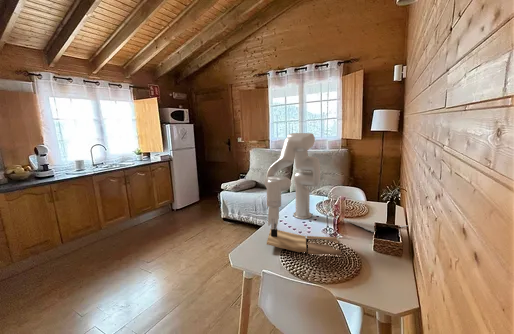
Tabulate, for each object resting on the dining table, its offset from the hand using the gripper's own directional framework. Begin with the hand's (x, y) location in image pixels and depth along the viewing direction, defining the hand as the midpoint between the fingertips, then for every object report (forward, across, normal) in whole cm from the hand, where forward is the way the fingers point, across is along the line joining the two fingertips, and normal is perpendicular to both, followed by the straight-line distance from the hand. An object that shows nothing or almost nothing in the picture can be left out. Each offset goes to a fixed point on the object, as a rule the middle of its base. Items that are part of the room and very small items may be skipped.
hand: (274, 235), depth 127 cm
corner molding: (+5, -39, +60) cm, 71 cm away
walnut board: (+5, -1, +25) cm, 26 cm away
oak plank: (+3, -1, +7) cm, 7 cm away
